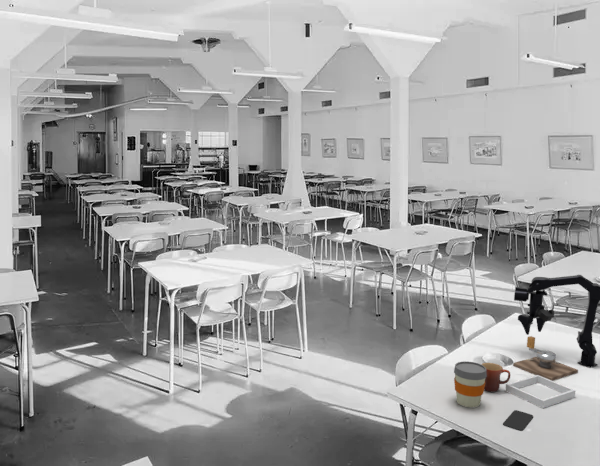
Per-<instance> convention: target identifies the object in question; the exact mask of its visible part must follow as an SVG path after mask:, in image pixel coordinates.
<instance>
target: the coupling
mask: <svg viewBox="0 0 600 466" xmlns="http://www.w3.org/2000/svg"><path fill="white" fill-rule="evenodd" d="M535 344H536V337H534V336H532V335H531V336H527V339H526V347H527V348H528V350H529V351H530V352H533V353H536V357H537V360H539V361H542V362H546V363H553V362H555V361H556V356H557V355H556V353H555V352H552V351H549V350H541V349H539V348H536V347H535Z"/></svg>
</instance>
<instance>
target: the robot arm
mask: <svg viewBox="0 0 600 466" xmlns="http://www.w3.org/2000/svg"><path fill="white" fill-rule="evenodd" d="M530 282H531V283H530V284H529V285H528V286H527V287H520V286H519V287H518V286H515V289H514V295H513V301H517V302H527V301H529V303H528V304H527V307H529V309H528V311H526V314H525V313H523V314H522V313H521V314H519V315H518V316H517V320H518V322H520V323H521V325H522V328H523V329H524V332H525V335H527V336H529V334H530V332H531V331H530V329H531V325H533V324H534V319H536V324H537V326H536V327H537V332H539V333H541V331H542V330H543V328H544V326H545V324H546V323H547V322H550V321H551V320H552V319H553V318H555V311H554V310H553V309H545V305H544V304H543V301H544V300H543V299H544V296H548V292H546V289H547V290H548V289H549V288H552V287H561V286H562V287H563V286H569V285H571V286H573V285H579V286H581V287H582V288H583V289H585V291H587V299H588V302H587V307H586V312H585V313H586V314H585V317H584V321H583V322H584V323H583V327H582V330H581V331H577V337H576V342H577V344H578V346H579V348H580V350H581V355H580V356H581V357H580V360H579V361H577V364H579V365H582V366H585V367H587V368H593V367H596V366H598V365H599V364H597V363H596V362H595V361H596V355H597V353H598V351H597V348H596V346H595V345H594V344H593V329H594V323H595V319H596V313H597V309H598V305H599V303H600V284H599V283H595V282H592V281H591V280H590V279H588V278H586V277H584V276H583V275H582V274H576V275H568V276H567V275H566V276H557V277H547V276H546V277H545V276H535V277H532V279H531V281H530Z"/></svg>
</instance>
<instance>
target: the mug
mask: <svg viewBox="0 0 600 466" xmlns="http://www.w3.org/2000/svg"><path fill="white" fill-rule="evenodd" d="M480 364H481V365H483V366H484V367H486V374H487V376H486V378H485V387H484V391H486V392H489V393H496V392H498V391H499V389H500V386H501V385H504V384H505V385H506V384H508V382H509V381H510V379H511V372H510V371H509V370H508V369H504V368H503V366H502V365H500V364H497V363H494V362H483V363H480ZM503 373H507V378H506V379H505V380H501V374H503Z"/></svg>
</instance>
